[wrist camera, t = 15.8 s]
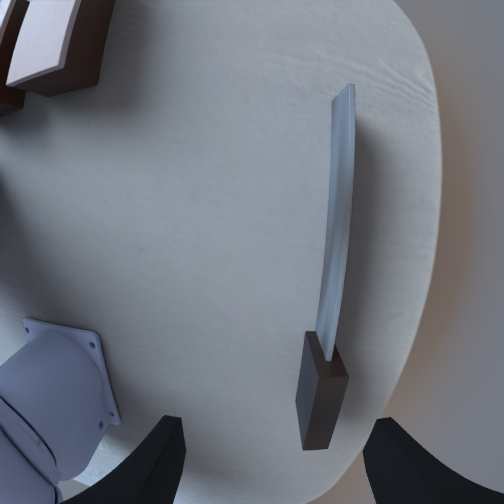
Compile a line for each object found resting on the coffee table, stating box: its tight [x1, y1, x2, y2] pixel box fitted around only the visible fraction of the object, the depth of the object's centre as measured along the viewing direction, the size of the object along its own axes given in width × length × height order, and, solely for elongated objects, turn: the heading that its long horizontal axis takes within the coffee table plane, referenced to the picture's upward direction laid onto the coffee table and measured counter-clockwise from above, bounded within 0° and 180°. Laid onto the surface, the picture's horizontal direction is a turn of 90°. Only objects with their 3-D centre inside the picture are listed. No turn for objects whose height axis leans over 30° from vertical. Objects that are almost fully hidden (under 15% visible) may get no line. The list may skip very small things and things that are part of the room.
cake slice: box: [6, 0, 115, 97], centre depth 12 cm, size 9×4×5 cm, turn 178°
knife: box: [295, 83, 355, 451], centre depth 15 cm, size 20×2×5 cm, turn 178°
